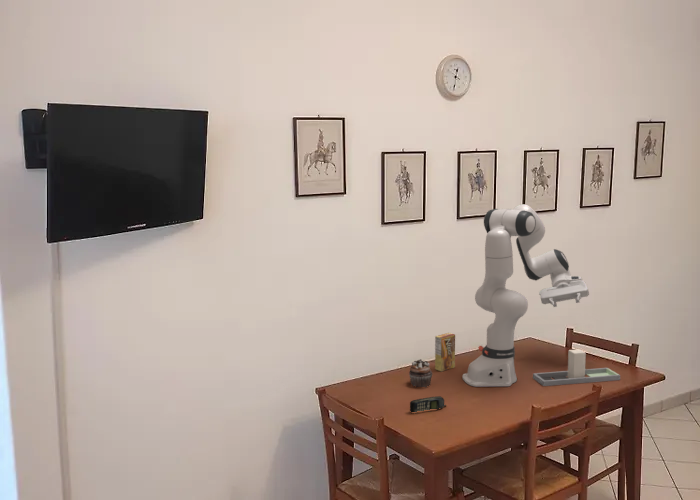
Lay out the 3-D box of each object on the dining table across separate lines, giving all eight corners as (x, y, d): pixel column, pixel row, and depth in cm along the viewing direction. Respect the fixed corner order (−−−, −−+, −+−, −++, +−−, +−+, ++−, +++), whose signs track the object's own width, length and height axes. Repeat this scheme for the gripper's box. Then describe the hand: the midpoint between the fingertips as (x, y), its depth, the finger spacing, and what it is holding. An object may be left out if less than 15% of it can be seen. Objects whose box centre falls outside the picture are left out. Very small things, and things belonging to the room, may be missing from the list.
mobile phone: (411, 402, 243) (448, 396, 248) (408, 399, 246) (444, 393, 251) (412, 415, 244) (448, 408, 249) (408, 412, 247) (444, 405, 252)
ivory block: (573, 381, 275) (574, 353, 274) (567, 377, 280) (568, 350, 278) (584, 380, 276) (585, 352, 274) (578, 376, 281) (579, 349, 279)
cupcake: (404, 385, 275) (404, 361, 273) (418, 378, 282) (418, 356, 280) (423, 390, 268) (423, 366, 267) (437, 383, 275) (437, 360, 274)
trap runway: (543, 386, 271) (543, 381, 270) (532, 378, 280) (532, 373, 280) (620, 379, 276) (620, 375, 276) (606, 372, 286) (607, 367, 286)
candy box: (448, 365, 299) (448, 332, 297) (455, 367, 296) (455, 334, 293) (434, 369, 293) (434, 335, 291) (441, 371, 290) (441, 337, 288)
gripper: (537, 284, 297) (539, 302, 286) (584, 275, 291) (589, 293, 279) (540, 296, 300) (543, 313, 288) (587, 287, 294) (592, 305, 282)
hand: (566, 303), depth 284 cm, fingers open, 8 cm apart
